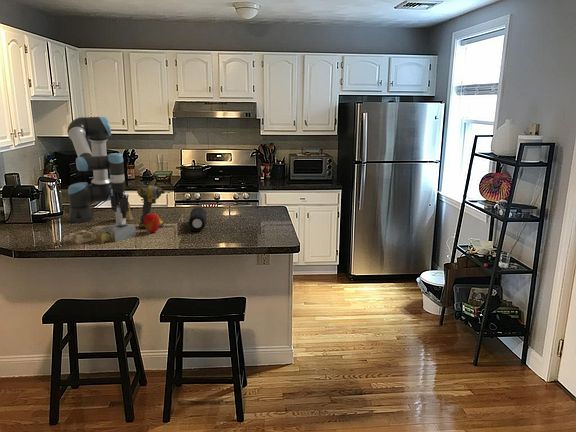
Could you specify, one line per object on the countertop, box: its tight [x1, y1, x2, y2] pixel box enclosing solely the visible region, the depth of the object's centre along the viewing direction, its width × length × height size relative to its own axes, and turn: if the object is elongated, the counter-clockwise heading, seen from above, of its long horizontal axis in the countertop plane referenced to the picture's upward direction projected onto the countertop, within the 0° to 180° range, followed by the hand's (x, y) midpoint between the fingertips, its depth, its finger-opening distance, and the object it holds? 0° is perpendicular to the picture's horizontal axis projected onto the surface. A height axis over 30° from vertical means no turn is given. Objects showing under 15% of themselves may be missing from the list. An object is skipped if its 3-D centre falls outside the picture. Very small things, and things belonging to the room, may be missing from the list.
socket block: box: [101, 223, 137, 242], centre depth 267 cm, size 11×14×6 cm
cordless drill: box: [136, 184, 171, 229], centre depth 285 cm, size 9×20×25 cm, turn 78°
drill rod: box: [116, 204, 125, 228], centre depth 267 cm, size 4×4×18 cm
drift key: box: [95, 233, 111, 244], centre depth 260 cm, size 4×10×4 cm, turn 148°
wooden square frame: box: [68, 229, 96, 245], centre depth 261 cm, size 9×9×4 cm
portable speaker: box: [188, 206, 207, 232], centre depth 289 cm, size 26×10×10 cm, turn 8°
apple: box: [143, 212, 160, 234], centre depth 276 cm, size 9×9×12 cm
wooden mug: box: [119, 201, 133, 222], centre depth 300 cm, size 9×14×18 cm, turn 2°
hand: (121, 223), depth 267 cm, fingers closed on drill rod, 3 cm apart
